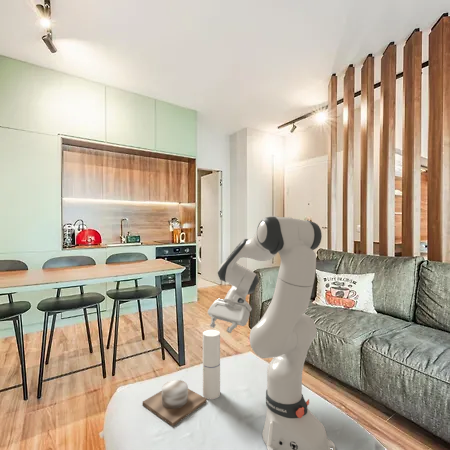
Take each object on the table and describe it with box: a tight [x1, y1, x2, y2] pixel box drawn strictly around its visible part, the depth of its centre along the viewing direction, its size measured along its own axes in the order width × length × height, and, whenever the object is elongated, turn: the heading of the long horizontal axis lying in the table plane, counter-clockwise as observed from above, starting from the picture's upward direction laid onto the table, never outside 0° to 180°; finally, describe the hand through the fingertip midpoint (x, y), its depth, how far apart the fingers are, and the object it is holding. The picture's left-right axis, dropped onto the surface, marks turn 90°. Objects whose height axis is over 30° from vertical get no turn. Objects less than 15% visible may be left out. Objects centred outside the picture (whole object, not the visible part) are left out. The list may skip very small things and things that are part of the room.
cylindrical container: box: [202, 329, 221, 400], centre depth 111 cm, size 7×7×25 cm
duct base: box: [142, 379, 208, 427], centre depth 105 cm, size 18×17×6 cm
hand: (219, 329), depth 115 cm, fingers open, 8 cm apart
